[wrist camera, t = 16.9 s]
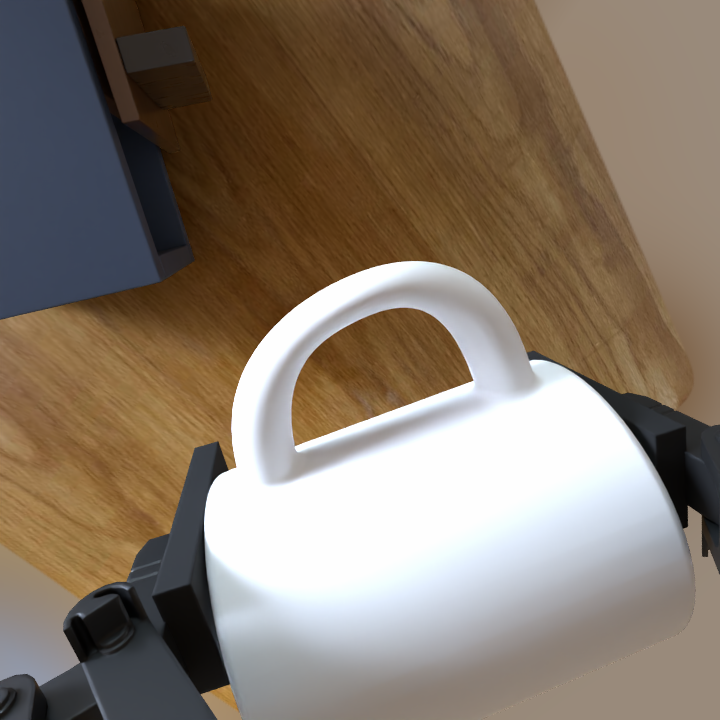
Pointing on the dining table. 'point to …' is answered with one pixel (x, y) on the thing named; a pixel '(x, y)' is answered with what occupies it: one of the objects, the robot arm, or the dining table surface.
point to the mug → (434, 528)
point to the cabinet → (74, 171)
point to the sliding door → (146, 69)
